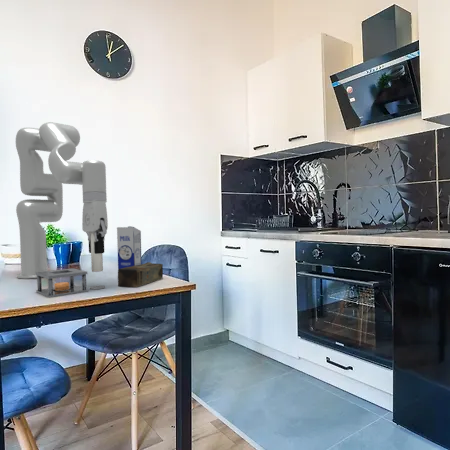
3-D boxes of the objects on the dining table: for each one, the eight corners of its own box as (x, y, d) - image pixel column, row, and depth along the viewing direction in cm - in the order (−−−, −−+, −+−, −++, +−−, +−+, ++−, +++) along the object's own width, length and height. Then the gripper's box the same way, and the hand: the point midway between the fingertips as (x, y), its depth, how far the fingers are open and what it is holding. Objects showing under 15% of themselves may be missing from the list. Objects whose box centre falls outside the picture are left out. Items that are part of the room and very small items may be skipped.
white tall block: (89, 271, 127) (88, 223, 127) (100, 270, 130) (98, 223, 129) (94, 272, 125) (92, 223, 124) (104, 271, 127) (103, 223, 127)
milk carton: (117, 278, 148) (116, 226, 147) (126, 275, 154) (125, 226, 154) (134, 278, 146) (133, 226, 146) (142, 275, 153) (141, 225, 152)
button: (52, 289, 122) (52, 283, 122) (66, 287, 125) (66, 281, 125) (57, 291, 119) (57, 284, 119) (71, 289, 122) (71, 283, 122)
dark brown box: (164, 278, 145) (163, 261, 145) (137, 288, 127) (136, 269, 127) (146, 278, 148) (145, 261, 147) (116, 287, 129) (116, 268, 129)
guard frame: (36, 292, 123) (35, 272, 123) (73, 286, 131) (72, 268, 131) (49, 297, 114) (48, 276, 114) (88, 291, 122) (87, 271, 122)
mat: (86, 288, 127) (86, 287, 127) (101, 286, 131) (101, 285, 131) (93, 290, 124) (93, 289, 124) (107, 288, 127) (107, 286, 127)
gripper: (73, 199, 130) (75, 252, 130) (94, 196, 118) (96, 255, 118) (94, 199, 135) (96, 250, 136) (116, 197, 123) (118, 253, 123)
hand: (96, 252), depth 127 cm, fingers closed on white tall block, 3 cm apart
